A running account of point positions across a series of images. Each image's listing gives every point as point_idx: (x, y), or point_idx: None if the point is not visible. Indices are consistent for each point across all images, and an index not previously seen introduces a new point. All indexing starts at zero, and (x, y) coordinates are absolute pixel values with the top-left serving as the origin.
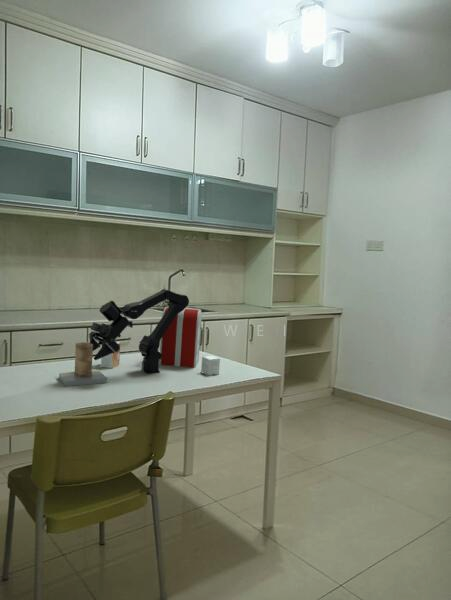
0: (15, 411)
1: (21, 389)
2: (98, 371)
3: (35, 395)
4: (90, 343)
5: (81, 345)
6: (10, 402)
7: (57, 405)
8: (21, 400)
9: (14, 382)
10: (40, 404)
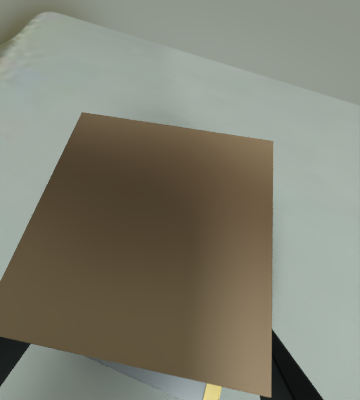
0: (69, 29)
1: (196, 82)
2: (189, 390)
3: (129, 85)
4: (93, 347)
5: (79, 122)
6: (123, 40)
7: (26, 86)
8: (119, 55)
9: (267, 93)
10: (64, 68)
